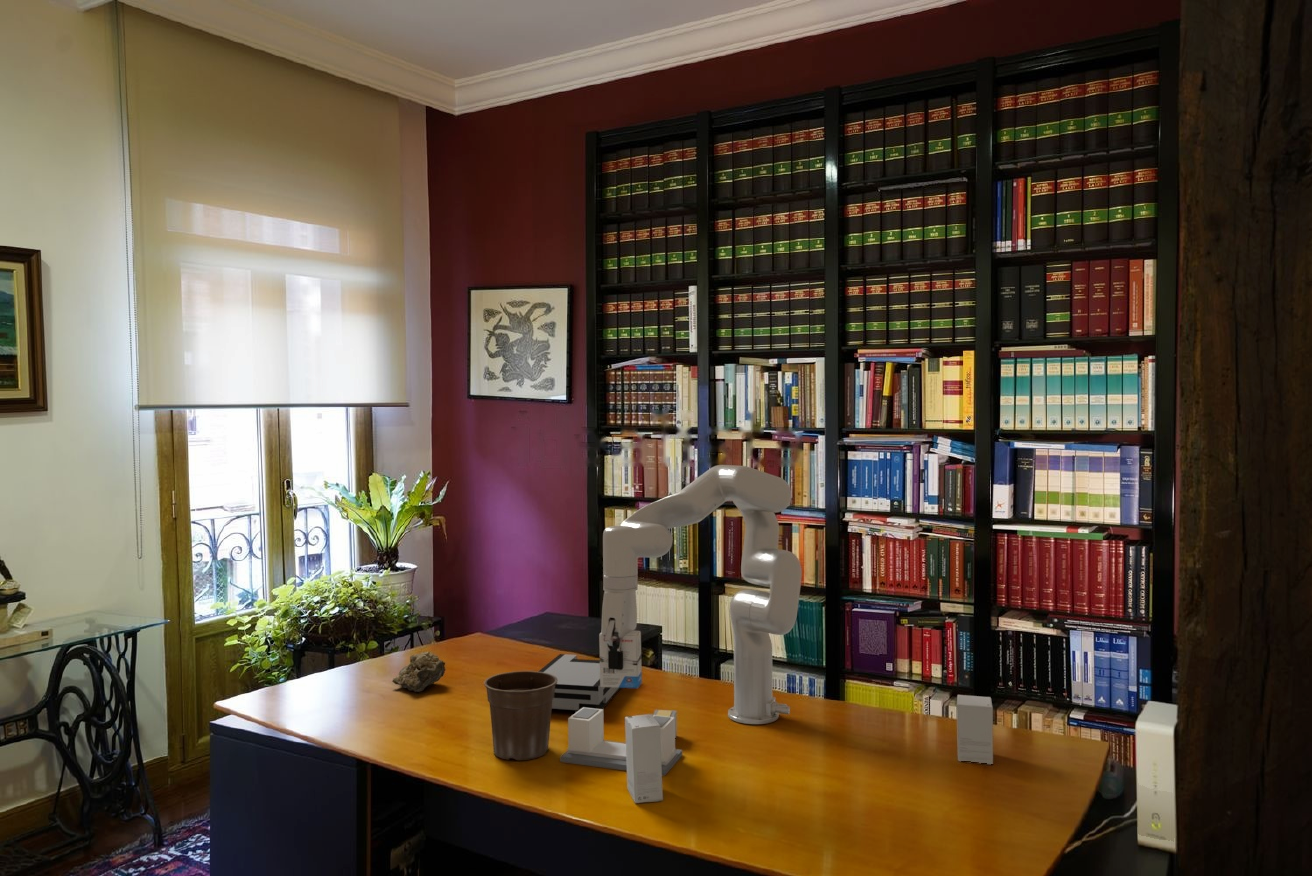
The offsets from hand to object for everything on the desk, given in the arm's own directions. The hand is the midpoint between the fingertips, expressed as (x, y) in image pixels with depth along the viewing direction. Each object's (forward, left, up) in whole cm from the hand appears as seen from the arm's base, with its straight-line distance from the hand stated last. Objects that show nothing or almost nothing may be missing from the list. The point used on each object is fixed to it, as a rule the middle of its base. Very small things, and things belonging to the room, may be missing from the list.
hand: (621, 664), depth 196 cm
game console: (+28, -38, -21) cm, 51 cm away
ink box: (0, 0, -5) cm, 5 cm away
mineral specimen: (+74, -31, -21) cm, 83 cm away
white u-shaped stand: (0, 0, -21) cm, 21 cm away
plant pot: (+23, +3, -21) cm, 31 cm away
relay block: (-5, -14, -21) cm, 26 cm away
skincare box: (-11, +16, -21) cm, 29 cm away
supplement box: (-73, -25, -21) cm, 80 cm away
